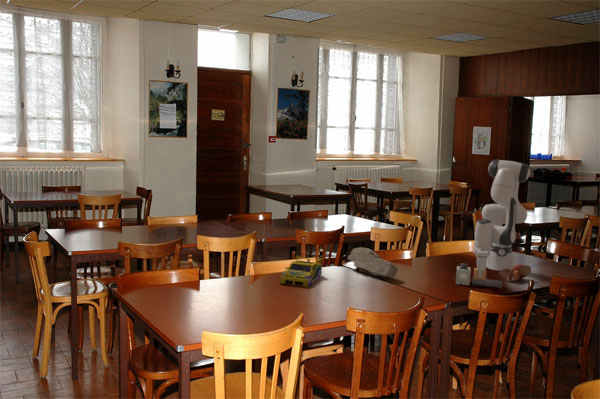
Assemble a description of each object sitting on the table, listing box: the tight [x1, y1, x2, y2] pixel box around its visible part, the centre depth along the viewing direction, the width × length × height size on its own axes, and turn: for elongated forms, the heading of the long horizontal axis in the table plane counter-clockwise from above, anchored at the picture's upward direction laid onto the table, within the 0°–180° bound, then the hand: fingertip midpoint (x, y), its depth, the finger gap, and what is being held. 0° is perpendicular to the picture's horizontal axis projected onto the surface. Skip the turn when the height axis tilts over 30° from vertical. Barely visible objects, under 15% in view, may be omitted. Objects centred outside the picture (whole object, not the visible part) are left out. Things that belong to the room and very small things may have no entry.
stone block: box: [347, 246, 399, 278], centre depth 326 cm, size 34×10×15 cm
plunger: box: [460, 263, 468, 270], centre depth 314 cm, size 3×3×5 cm
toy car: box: [279, 255, 323, 288], centre depth 307 cm, size 16×27×10 cm, turn 162°
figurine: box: [499, 264, 532, 282], centre depth 326 cm, size 20×9×15 cm
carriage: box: [473, 267, 487, 284], centre depth 312 cm, size 5×6×7 cm
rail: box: [471, 277, 503, 289], centre depth 312 cm, size 6×15×3 cm, turn 75°
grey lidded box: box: [455, 265, 471, 286], centre depth 314 cm, size 8×7×8 cm
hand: (479, 275), depth 312 cm, fingers closed on carriage, 5 cm apart
